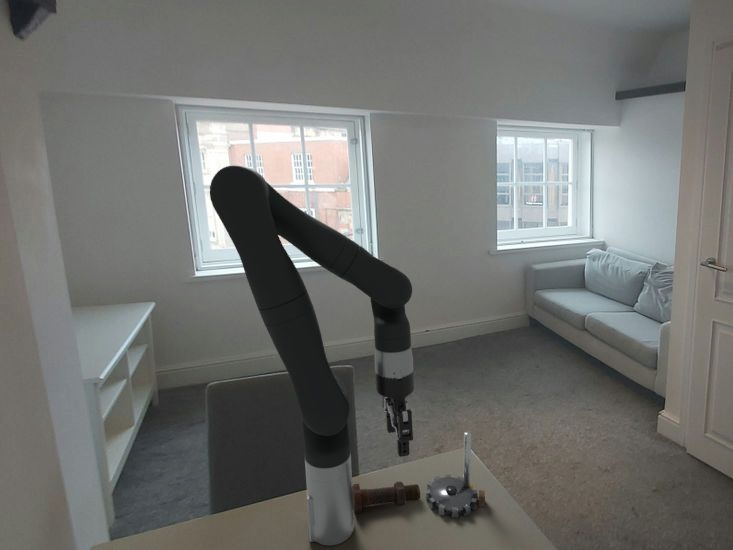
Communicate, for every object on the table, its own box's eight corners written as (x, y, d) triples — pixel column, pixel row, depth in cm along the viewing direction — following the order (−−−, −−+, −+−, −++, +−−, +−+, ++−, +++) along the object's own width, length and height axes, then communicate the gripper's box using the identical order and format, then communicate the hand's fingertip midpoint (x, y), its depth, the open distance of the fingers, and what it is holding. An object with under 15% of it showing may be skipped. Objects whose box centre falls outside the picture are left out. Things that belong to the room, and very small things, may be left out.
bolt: (419, 508, 94) (353, 516, 92) (414, 485, 98) (351, 492, 96) (423, 498, 91) (355, 505, 88) (418, 474, 94) (352, 481, 92)
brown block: (479, 506, 92) (479, 496, 91) (478, 499, 94) (478, 489, 93) (484, 506, 92) (484, 496, 91) (484, 500, 93) (484, 490, 93)
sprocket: (446, 525, 87) (446, 461, 84) (416, 491, 97) (415, 433, 94) (488, 505, 92) (489, 444, 89) (455, 475, 102) (455, 420, 99)
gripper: (368, 357, 88) (372, 427, 91) (384, 386, 75) (388, 467, 78) (402, 353, 90) (405, 422, 93) (424, 380, 76) (427, 460, 79)
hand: (397, 442), depth 85 cm, fingers open, 8 cm apart
